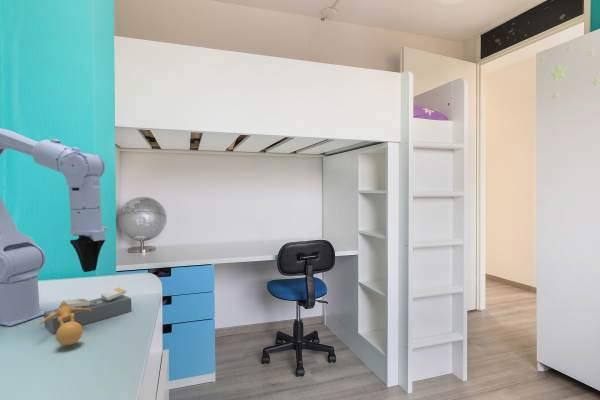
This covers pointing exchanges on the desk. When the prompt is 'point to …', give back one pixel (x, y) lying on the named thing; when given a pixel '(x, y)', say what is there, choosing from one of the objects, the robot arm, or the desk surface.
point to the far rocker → (113, 294)
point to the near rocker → (77, 303)
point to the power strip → (92, 312)
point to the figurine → (67, 325)
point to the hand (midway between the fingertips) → (89, 270)
